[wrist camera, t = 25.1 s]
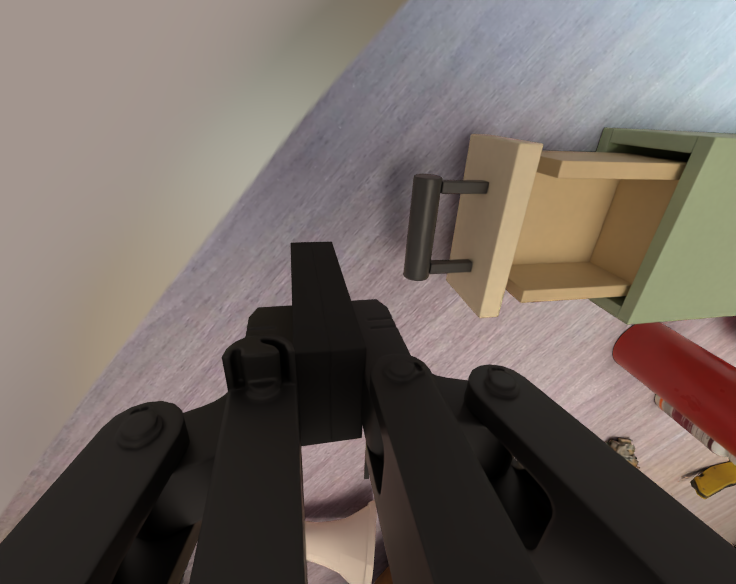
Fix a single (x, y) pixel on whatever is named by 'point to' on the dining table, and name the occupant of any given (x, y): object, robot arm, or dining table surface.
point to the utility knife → (714, 479)
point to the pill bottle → (694, 430)
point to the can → (683, 378)
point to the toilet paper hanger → (345, 544)
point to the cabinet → (684, 230)
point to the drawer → (541, 222)
